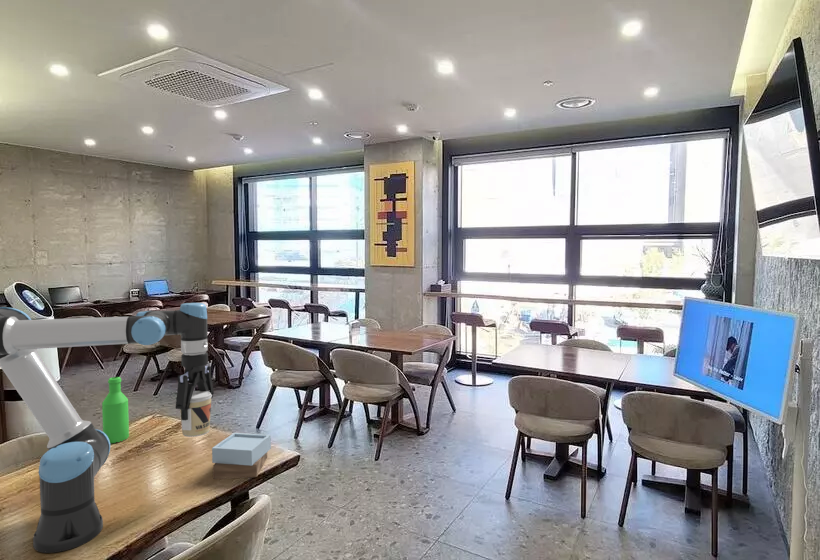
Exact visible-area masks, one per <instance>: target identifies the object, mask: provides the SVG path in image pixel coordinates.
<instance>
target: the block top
mask: <svg viewBox="0 0 820 560" xmlns="http://www.w3.org/2000/svg"><path fill="white" fill-rule="evenodd" d="M271 439H272V435H271V434H262V433H247V432H244V433H243V432H232V433H231V434H230V435H228V436H227V437H226V438H225V439H223V440H221V441H220V442H218V443H217V444H216V445H214V446H213V447H212V448H211V457H212V459H211V461H212V464H215V463H222V464H236V465H250V466H252V465H253V464H254V463H255V462H256V461H258V460H259V459H260V458H261V457H262V456H263V455H264V454H265V453H267V454H268V452H269V451H270V450H271V449H272V444H271V443H272V441H271Z"/></svg>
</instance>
